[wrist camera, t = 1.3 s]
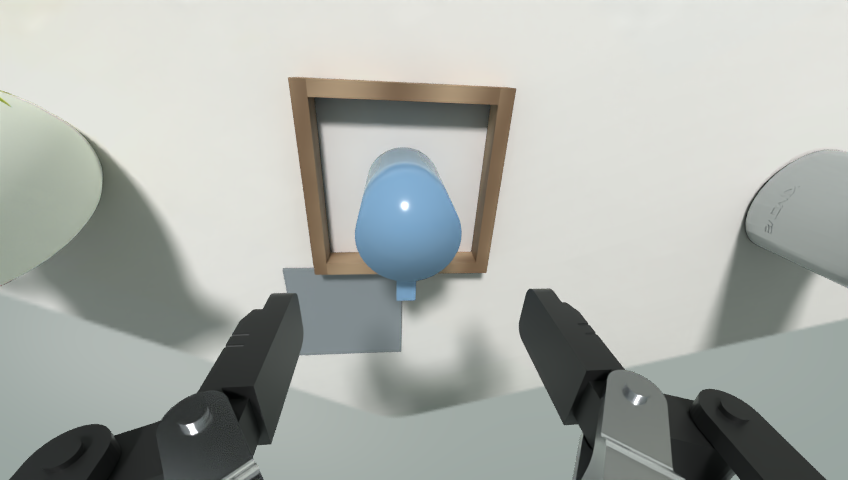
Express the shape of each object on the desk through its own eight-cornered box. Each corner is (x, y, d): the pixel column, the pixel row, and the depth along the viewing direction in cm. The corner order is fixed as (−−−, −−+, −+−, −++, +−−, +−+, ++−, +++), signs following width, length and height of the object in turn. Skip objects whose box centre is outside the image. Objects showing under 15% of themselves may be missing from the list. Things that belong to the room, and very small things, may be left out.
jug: (365, 146, 23) (351, 185, 15) (441, 148, 23) (466, 187, 15) (369, 244, 27) (360, 317, 19) (434, 244, 27) (452, 315, 19)
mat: (402, 267, 28) (402, 268, 28) (400, 350, 32) (400, 351, 32) (283, 268, 27) (282, 269, 27) (299, 353, 31) (298, 355, 31)
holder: (507, 87, 22) (516, 88, 20) (480, 261, 28) (486, 272, 27) (296, 77, 20) (288, 77, 19) (319, 262, 27) (314, 274, 25)
